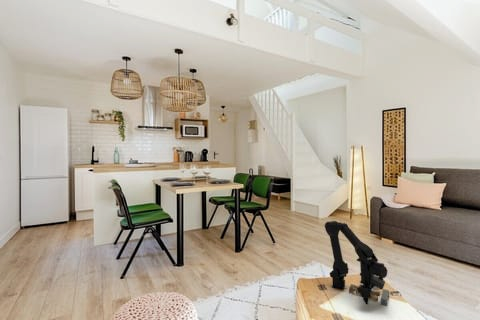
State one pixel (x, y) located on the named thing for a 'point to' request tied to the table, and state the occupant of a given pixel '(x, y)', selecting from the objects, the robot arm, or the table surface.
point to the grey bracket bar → (384, 297)
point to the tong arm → (373, 297)
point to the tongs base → (351, 291)
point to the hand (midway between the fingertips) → (367, 300)
